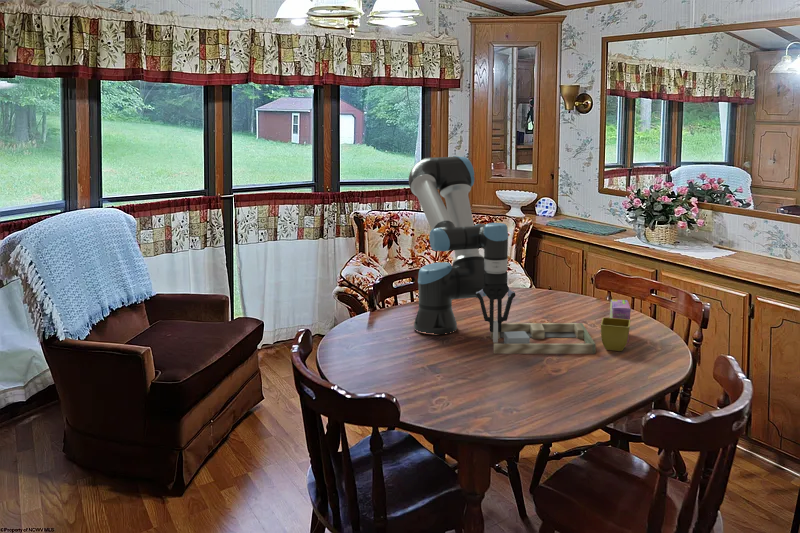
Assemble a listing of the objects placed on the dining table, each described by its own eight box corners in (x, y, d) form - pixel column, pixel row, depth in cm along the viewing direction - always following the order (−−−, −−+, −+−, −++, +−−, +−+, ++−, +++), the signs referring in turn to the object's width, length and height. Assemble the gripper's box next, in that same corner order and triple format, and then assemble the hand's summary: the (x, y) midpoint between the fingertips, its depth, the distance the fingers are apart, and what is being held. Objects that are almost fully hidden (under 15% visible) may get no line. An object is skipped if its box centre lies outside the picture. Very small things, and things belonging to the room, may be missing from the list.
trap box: (493, 353, 236) (493, 344, 236) (489, 331, 259) (489, 323, 258) (595, 353, 235) (595, 344, 234) (582, 331, 257) (582, 323, 256)
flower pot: (629, 345, 241) (630, 319, 239) (628, 354, 233) (629, 326, 231) (601, 343, 244) (602, 317, 242) (599, 351, 236) (600, 324, 234)
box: (629, 342, 244) (630, 308, 242) (611, 341, 246) (612, 307, 243) (626, 333, 254) (627, 299, 252) (608, 332, 255) (610, 299, 253)
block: (508, 350, 240) (508, 338, 239) (503, 343, 247) (504, 331, 246) (529, 349, 241) (529, 337, 240) (524, 342, 247) (524, 331, 246)
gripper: (475, 274, 235) (475, 344, 240) (517, 273, 234) (516, 344, 239) (475, 268, 243) (475, 337, 248) (515, 268, 242) (514, 337, 247)
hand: (495, 341), depth 243 cm, fingers closed
